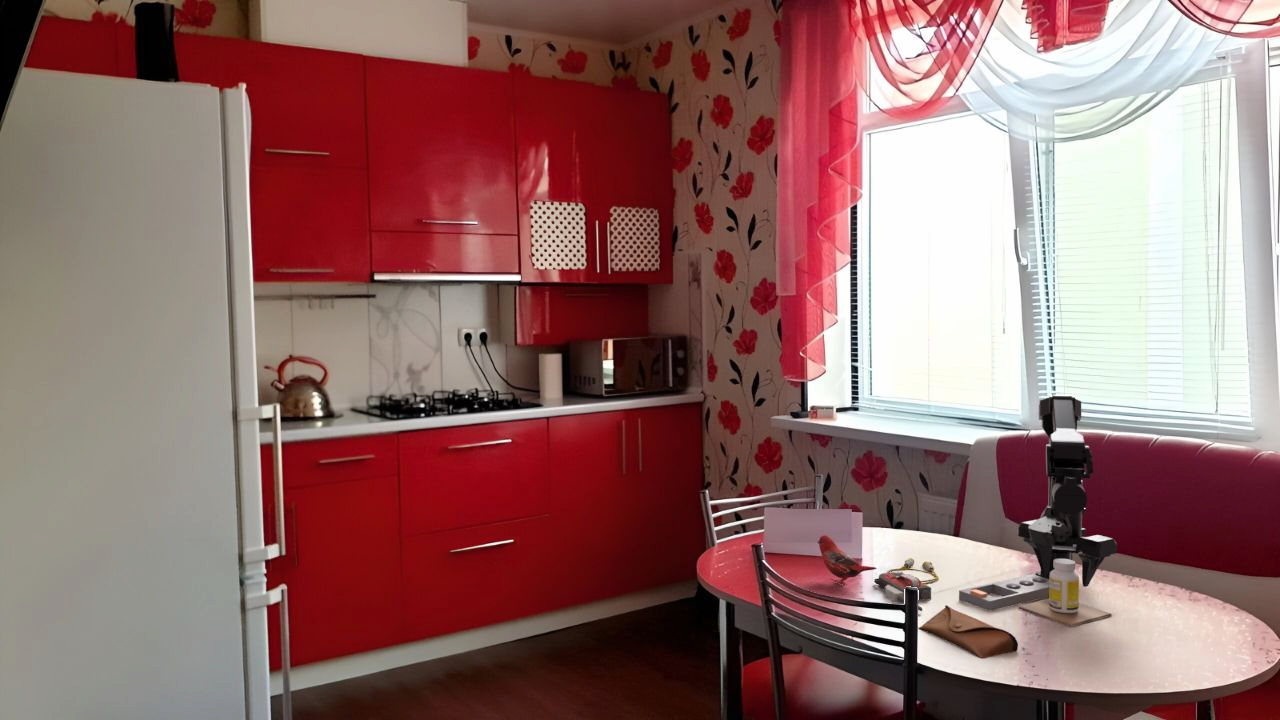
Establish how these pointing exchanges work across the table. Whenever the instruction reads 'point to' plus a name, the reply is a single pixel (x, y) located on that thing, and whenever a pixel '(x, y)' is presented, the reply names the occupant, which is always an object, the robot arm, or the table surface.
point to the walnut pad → (1067, 619)
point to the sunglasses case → (970, 633)
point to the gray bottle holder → (1006, 592)
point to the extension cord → (925, 565)
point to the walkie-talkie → (901, 586)
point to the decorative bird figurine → (839, 561)
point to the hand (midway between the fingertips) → (1064, 580)
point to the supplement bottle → (1064, 587)
